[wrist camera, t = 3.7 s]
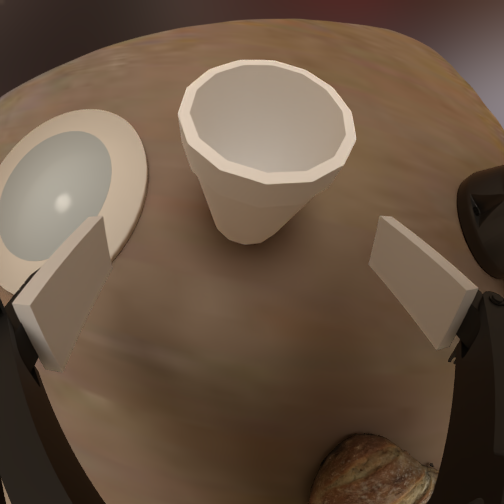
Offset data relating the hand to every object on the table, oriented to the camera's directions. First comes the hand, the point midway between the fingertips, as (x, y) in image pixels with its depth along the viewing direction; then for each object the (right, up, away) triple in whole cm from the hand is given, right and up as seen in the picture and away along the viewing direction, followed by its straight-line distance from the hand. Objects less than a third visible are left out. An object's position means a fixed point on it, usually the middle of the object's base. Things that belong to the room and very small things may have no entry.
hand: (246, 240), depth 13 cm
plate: (-21, +5, +11) cm, 24 cm away
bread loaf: (+17, -29, +6) cm, 34 cm away
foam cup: (0, +3, +13) cm, 14 cm away
